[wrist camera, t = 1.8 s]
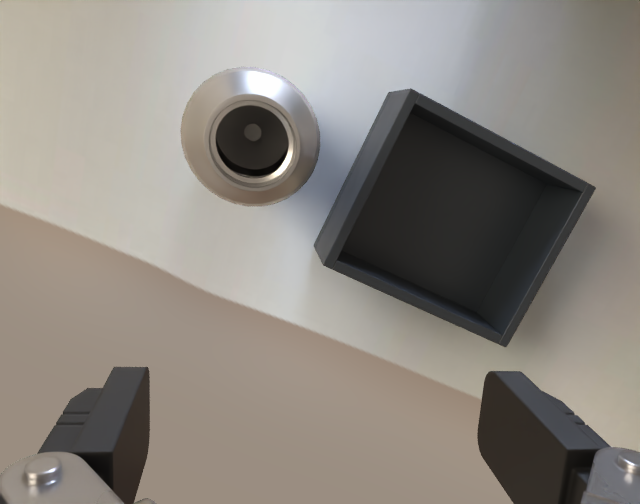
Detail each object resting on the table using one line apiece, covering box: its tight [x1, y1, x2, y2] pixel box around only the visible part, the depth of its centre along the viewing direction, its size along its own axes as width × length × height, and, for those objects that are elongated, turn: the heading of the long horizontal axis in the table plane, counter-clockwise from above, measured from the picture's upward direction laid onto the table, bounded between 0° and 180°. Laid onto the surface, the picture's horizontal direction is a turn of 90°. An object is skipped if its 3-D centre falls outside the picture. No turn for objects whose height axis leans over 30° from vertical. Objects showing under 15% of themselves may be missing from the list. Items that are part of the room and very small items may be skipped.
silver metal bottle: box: [181, 67, 320, 206], centre depth 32 cm, size 6×7×20 cm
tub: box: [314, 89, 596, 347], centre depth 42 cm, size 14×12×6 cm
